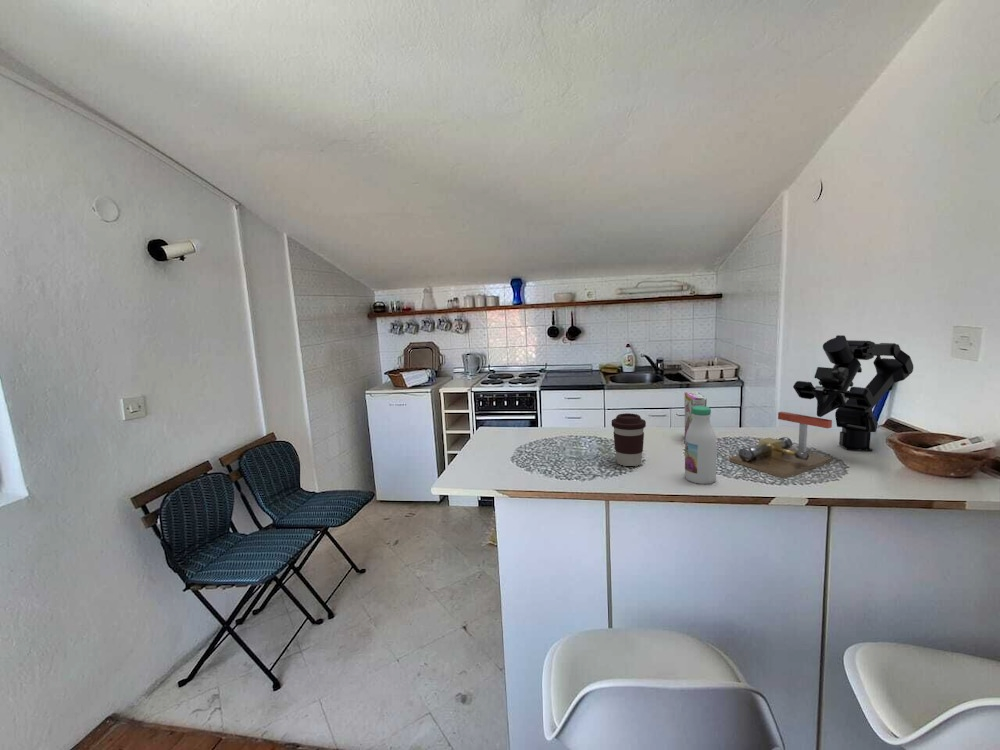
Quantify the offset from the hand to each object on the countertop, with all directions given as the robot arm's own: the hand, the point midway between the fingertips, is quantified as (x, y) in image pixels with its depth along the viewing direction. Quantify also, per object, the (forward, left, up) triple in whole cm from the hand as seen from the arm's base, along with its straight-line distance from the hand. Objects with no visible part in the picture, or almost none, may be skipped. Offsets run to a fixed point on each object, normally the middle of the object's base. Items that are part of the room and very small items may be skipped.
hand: (818, 415), depth 122 cm
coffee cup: (+52, +12, -14) cm, 55 cm away
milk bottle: (+33, +21, -14) cm, 42 cm away
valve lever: (+5, +5, -12) cm, 14 cm away
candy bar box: (+31, -15, -14) cm, 37 cm away
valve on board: (+10, +3, -14) cm, 17 cm away
